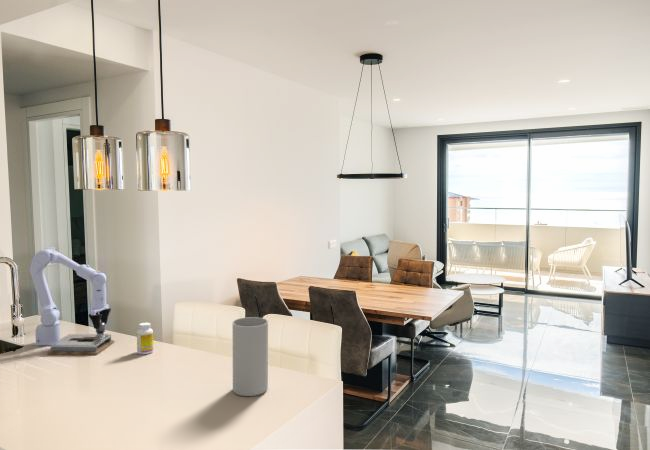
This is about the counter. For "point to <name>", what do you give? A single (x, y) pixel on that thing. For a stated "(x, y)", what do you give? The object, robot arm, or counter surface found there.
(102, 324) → the dark grey knob
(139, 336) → the supplement bottle
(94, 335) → the keyhole plate
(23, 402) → the counter surface
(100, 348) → the keyhole board
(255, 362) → the cylinder vase
